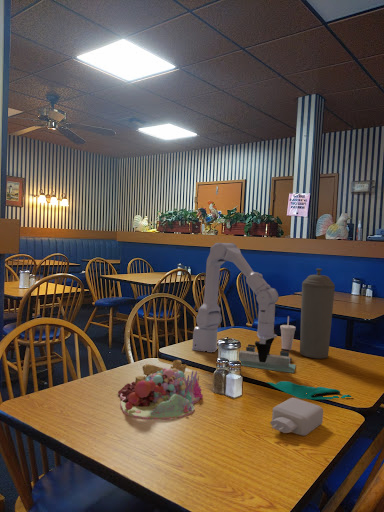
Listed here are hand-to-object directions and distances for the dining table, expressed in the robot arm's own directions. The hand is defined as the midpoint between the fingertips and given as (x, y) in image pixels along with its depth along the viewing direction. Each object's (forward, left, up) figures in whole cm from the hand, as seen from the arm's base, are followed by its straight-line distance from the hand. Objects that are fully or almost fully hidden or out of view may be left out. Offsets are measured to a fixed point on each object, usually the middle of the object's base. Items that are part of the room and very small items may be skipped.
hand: (263, 359), depth 147 cm
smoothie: (+6, +26, -2) cm, 27 cm away
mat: (0, 0, -2) cm, 2 cm away
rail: (0, 0, -2) cm, 2 cm away
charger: (+13, -47, -3) cm, 49 cm away
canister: (+17, +22, -2) cm, 28 cm away
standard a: (-6, +10, -2) cm, 12 cm away
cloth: (+16, -20, -3) cm, 26 cm away
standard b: (+6, +10, -2) cm, 12 cm away
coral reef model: (-22, -44, -3) cm, 49 cm away
